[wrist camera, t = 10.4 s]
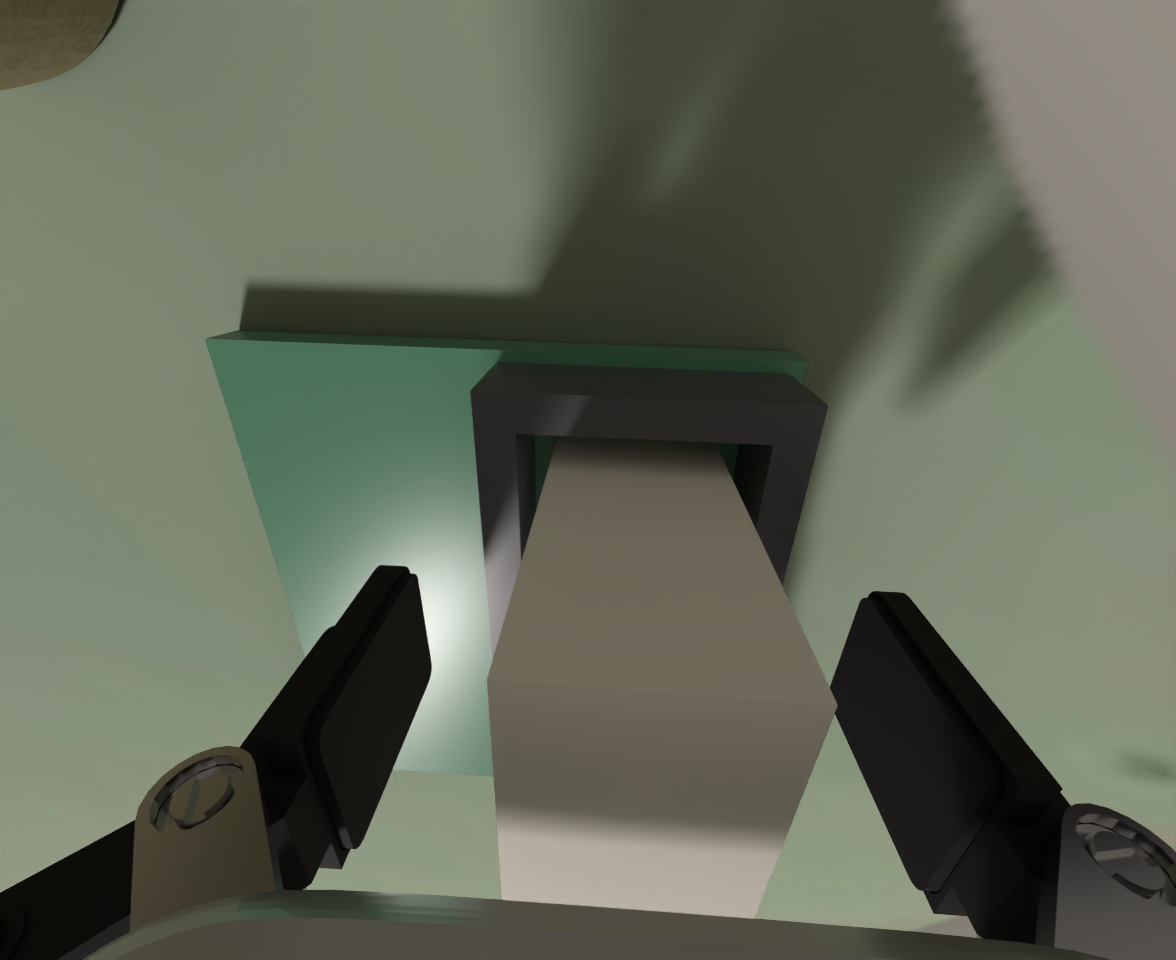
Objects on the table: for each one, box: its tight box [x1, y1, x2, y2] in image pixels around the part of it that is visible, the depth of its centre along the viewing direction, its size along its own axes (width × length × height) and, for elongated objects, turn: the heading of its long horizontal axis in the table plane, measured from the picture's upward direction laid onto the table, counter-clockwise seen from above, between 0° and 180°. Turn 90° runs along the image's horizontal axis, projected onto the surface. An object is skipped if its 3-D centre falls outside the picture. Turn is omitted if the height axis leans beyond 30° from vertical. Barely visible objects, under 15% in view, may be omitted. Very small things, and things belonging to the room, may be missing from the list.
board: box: [205, 330, 828, 777], centre depth 15 cm, size 17×15×4 cm
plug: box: [487, 436, 838, 919], centre depth 11 cm, size 6×4×8 cm, turn 178°
